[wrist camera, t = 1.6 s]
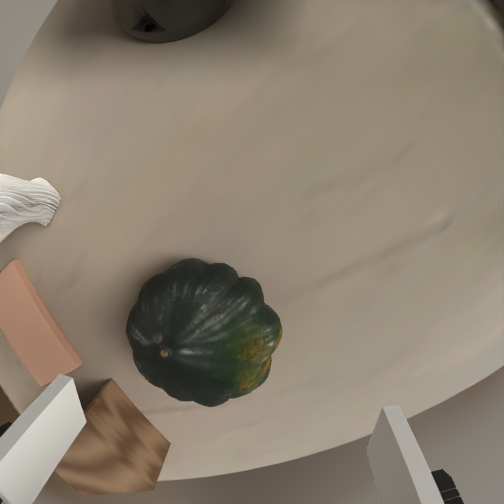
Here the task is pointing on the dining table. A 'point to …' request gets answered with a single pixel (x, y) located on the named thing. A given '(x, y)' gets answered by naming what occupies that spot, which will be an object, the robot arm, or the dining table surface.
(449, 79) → the dining table surface
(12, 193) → the shell sculpture
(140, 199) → the dining table surface
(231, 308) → the squash
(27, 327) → the tile
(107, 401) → the shelf
